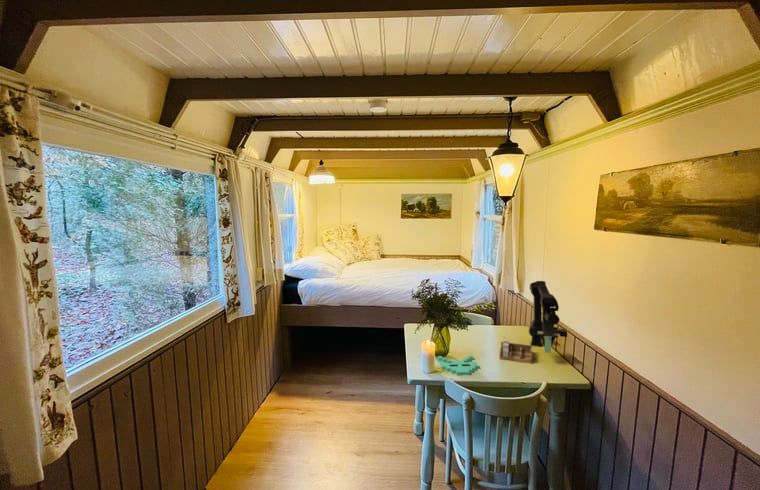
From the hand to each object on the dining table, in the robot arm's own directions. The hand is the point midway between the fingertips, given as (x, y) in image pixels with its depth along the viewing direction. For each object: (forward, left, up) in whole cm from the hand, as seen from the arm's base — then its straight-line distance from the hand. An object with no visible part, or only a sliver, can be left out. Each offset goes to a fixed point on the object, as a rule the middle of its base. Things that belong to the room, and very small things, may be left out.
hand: (547, 345), depth 188 cm
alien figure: (+24, -45, -10) cm, 52 cm away
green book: (0, 0, -2) cm, 2 cm away
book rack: (0, -16, -9) cm, 19 cm away
